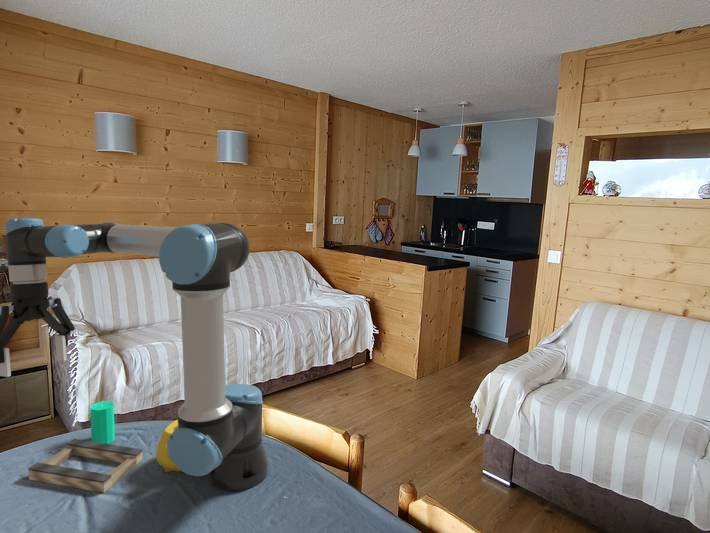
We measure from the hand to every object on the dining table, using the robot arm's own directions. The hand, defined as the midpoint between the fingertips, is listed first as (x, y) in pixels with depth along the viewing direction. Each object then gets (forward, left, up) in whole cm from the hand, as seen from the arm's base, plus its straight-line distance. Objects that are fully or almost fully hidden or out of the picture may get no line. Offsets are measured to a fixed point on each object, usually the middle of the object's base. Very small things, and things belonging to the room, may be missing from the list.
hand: (35, 367), depth 109 cm
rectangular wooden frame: (-11, -3, -27) cm, 29 cm away
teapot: (-34, -12, -27) cm, 45 cm away
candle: (-5, -16, -27) cm, 32 cm away
